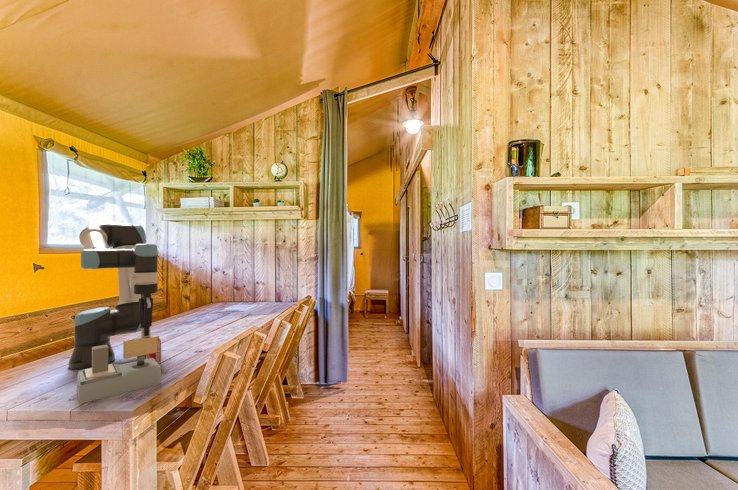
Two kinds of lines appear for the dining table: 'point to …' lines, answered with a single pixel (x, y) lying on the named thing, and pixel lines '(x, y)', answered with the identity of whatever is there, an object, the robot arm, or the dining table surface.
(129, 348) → the tan sign on stand
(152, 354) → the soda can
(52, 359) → the dining table surface
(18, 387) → the dining table surface
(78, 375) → the case
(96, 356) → the cover
